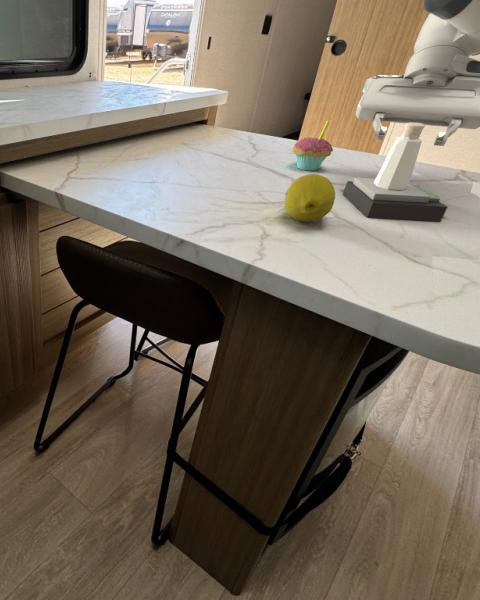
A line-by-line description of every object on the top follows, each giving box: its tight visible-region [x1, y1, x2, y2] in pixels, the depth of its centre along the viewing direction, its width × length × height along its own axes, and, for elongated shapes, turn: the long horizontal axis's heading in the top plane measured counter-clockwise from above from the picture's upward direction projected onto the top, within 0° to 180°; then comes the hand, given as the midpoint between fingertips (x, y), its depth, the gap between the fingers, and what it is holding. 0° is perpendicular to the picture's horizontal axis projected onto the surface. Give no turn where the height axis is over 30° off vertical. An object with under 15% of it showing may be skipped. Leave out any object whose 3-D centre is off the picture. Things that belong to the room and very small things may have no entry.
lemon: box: [284, 173, 336, 223], centre depth 72 cm, size 11×8×8 cm
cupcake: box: [291, 116, 334, 172], centre depth 99 cm, size 9×8×12 cm
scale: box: [342, 177, 448, 223], centre depth 79 cm, size 12×13×4 cm
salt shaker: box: [374, 122, 426, 191], centre depth 75 cm, size 5×5×11 cm
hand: (408, 140), depth 77 cm, fingers open, 8 cm apart
